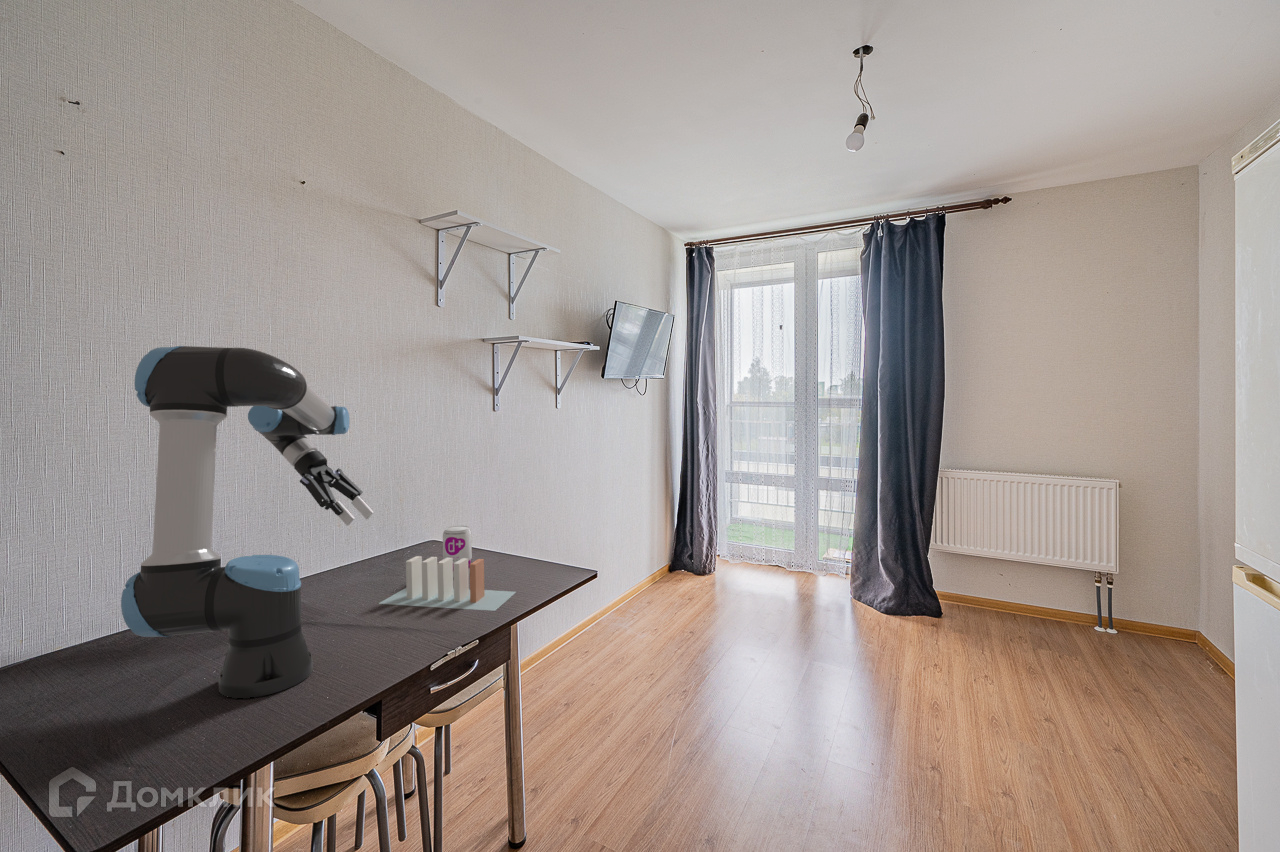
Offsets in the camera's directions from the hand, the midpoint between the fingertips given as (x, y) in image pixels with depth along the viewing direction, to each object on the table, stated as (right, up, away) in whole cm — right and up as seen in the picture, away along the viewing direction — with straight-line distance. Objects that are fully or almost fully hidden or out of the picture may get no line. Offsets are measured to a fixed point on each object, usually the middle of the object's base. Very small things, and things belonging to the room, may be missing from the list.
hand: (360, 518), depth 152 cm
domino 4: (+29, -20, -4) cm, 35 cm away
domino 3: (+24, -20, -3) cm, 32 cm away
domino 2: (+20, -20, -2) cm, 28 cm away
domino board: (+25, -22, -3) cm, 33 cm away
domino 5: (+33, -20, -5) cm, 39 cm away
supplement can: (+21, -21, +18) cm, 34 cm away
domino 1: (+15, -20, -2) cm, 26 cm away
